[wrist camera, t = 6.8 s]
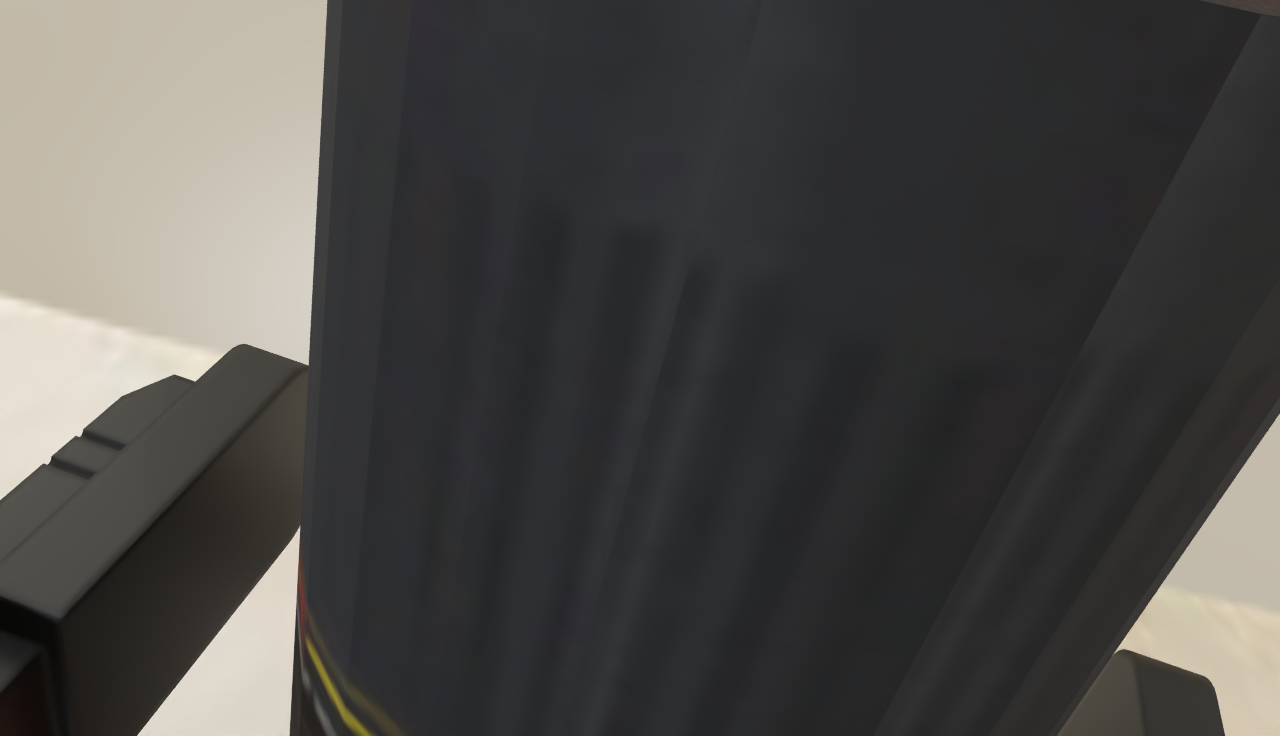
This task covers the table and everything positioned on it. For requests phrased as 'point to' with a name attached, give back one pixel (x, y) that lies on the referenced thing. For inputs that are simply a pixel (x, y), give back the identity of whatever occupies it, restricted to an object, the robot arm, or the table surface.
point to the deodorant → (772, 356)
